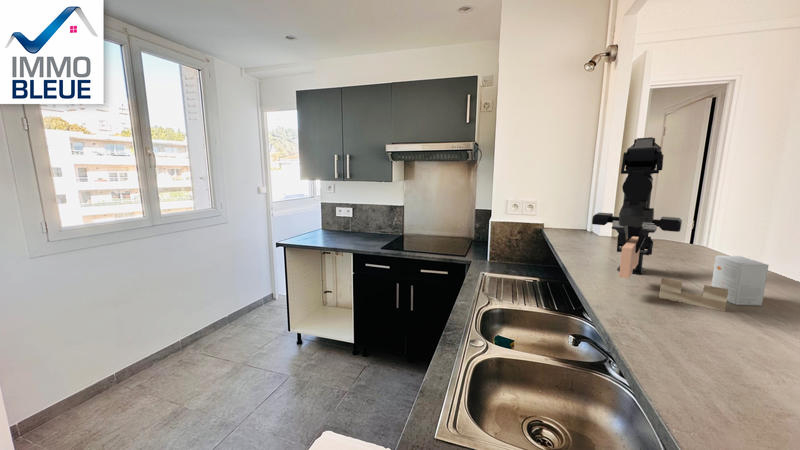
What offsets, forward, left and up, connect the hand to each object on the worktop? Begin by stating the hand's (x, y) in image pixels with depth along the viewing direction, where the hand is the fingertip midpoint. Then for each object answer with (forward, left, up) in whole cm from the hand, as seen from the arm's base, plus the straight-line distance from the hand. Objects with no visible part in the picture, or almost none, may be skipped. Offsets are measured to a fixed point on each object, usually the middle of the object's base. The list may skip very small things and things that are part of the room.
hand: (631, 252), depth 84 cm
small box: (-10, +21, -11) cm, 26 cm away
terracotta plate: (0, 0, -5) cm, 5 cm away
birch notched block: (0, +13, -11) cm, 17 cm away
